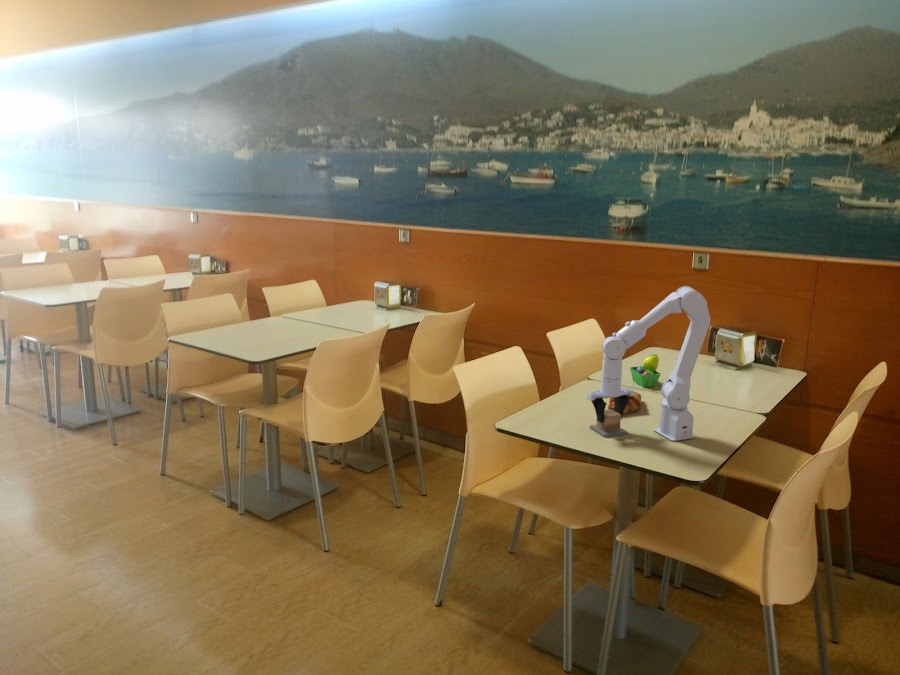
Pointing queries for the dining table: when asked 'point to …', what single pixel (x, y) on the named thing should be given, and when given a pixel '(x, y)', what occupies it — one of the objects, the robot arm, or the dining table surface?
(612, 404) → the croissant
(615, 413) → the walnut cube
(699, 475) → the dining table surface
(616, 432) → the slate coaster
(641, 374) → the fruit basket
